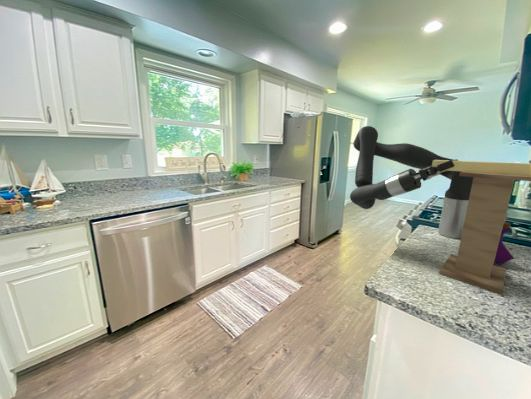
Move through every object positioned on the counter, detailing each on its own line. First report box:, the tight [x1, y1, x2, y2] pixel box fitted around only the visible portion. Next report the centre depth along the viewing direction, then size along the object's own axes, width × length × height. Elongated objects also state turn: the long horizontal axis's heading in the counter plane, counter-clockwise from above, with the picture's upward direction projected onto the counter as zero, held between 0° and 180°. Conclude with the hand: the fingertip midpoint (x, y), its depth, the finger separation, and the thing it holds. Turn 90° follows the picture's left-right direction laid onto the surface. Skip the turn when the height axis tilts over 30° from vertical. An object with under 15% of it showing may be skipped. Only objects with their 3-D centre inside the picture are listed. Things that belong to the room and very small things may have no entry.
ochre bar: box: [432, 160, 531, 176], centre depth 68 cm, size 3×22×3 cm, turn 42°
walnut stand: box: [438, 172, 531, 295], centre depth 69 cm, size 16×14×32 cm
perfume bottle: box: [494, 211, 515, 265], centre depth 79 cm, size 8×8×18 cm
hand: (455, 162), depth 71 cm, fingers open, 7 cm apart
